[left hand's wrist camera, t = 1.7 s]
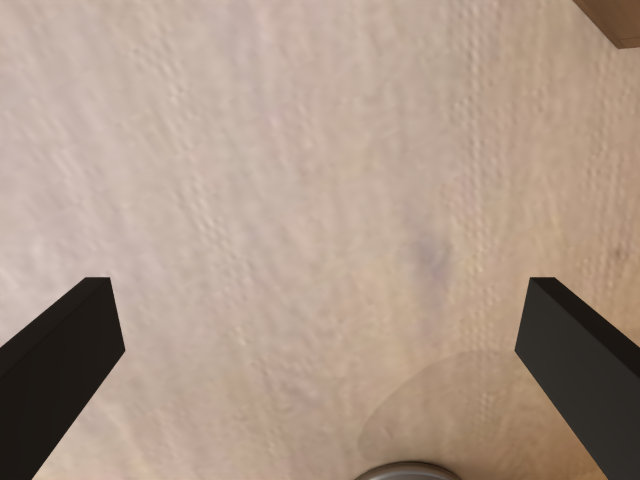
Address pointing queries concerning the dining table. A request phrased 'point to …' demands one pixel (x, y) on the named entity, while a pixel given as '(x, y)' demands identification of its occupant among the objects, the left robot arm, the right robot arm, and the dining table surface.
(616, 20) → the chest
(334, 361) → the dining table surface
